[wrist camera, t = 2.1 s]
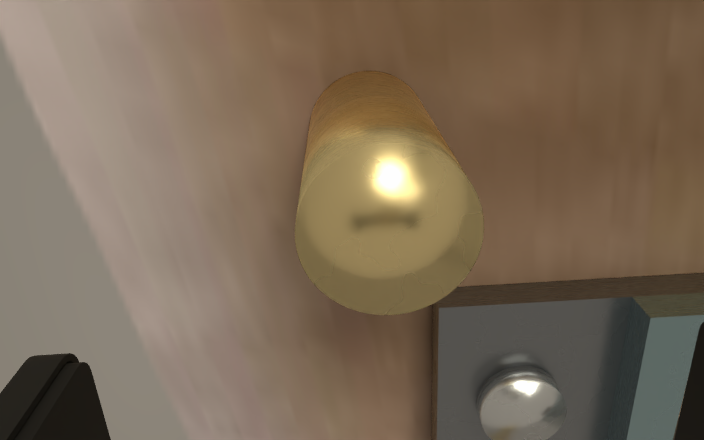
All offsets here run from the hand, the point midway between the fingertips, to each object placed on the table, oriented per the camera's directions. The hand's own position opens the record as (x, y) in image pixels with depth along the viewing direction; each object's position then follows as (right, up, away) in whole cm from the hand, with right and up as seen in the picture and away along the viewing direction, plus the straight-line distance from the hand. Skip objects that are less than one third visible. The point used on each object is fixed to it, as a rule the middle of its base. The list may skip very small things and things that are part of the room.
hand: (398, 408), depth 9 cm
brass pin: (0, +6, +13) cm, 14 cm away
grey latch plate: (+12, -4, +18) cm, 22 cm away
